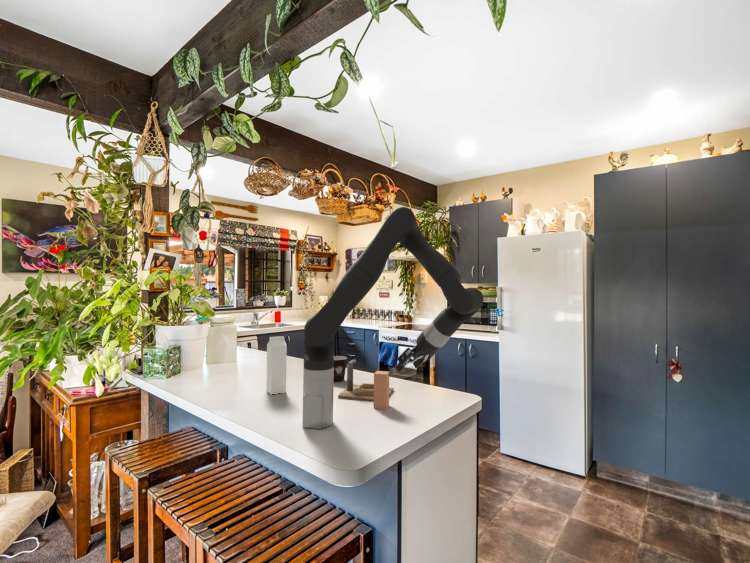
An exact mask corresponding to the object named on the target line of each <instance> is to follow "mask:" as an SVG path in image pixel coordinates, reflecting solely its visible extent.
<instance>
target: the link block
mask: <svg viewBox="0 0 750 563" xmlns="http://www.w3.org/2000/svg"><path fill="white" fill-rule="evenodd" d="M373 384H374V401H373V409H378V410H379V409H380V410H387V409H388V407H389V406H390V396H389V388H390V371H387V370H386V371H385V370H376V371H375V372H374V373H373Z"/></svg>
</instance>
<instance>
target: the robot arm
mask: <svg viewBox="0 0 750 563" xmlns="http://www.w3.org/2000/svg"><path fill="white" fill-rule="evenodd" d="M388 214H389V215H388V216H387V217H386V218H385V220H384V221H383V223H382V225H381V226H380V228H379V229H378V231H377V233H376V234H375V235H374V237H373V239H372V240H371V241H370V243H369V244H368V245H367V246H366V247H365V249H364V250H363V251H362V252H361V254H360V255H359V256H358V257H357V259H356V260H355V261H354V262H353V264H352V265H350V267H349V268H348V269H347V271H346V272H345V273H344V275H343V276H342V278H341V280H340V281H339V282H338V285H337V286H336V287H335V290H333V293H332V295H331V296H330V297H329V299H328V300H327V302H326V303H325V304H324V305H323V306H322V308H320V309H319V311H318V312H316V313H315V314H314V315H313V316H311V317H309V319H307V321H306V322H305V325H304V327H303V336H304V337H303V339H304V341H303V342H304V343H303V346H304V348H303V381H302V382H303V383H302V386H303V387H302V389H303V392H302V394H303V396H302V428H307V429H317V430H322V429H323V428H324V429H325V428H328V427H330V426H332V425H333V424H334V382H333V381H334V356H335V354H334V353H335V352H334V351H335V349H334V348H335V347H334V346H335V345H334V344H335V335H336V334H337V332H338V330H339V329H340V327H341V326H342V324H343V323H344V321H345V320H346V318H347V317H348V315H349V314H350V313H351V312H352V311H353V310H354V309H355V308H356V307H357V306H358V305H359V303H360V302H362V300H363V299H364V298H365V296H366V295H367V294H368V293H369V292H370V291H371V290H372V288H373V287H374V286H375V285H376V283H378V280H379V279H380V278H381V275H382V273H383V271H384V269H385V266H386V264H387V262H388V259H389V257H390V255H391V253H392V251H393V250H394V248H396V245H398V244H400V245H401V246H402V247H404V248H405V249H406V250H407V251H408V252H409V253H411V255H412V256H413V257H414V258H415V259H416V260H417V261H418V262H419V263H420V265H421V266H422V267H423V269H424V270H425V271H426V272H427V274H428V275H429V276H430V277H431V279H432V280H433V281H434V282H435V283H436V285H437V286H438V287H439V288H440V289H441V293H442V294H443V296H444V298H445V301H446V302H447V304H448V305H449V306H448V307H446V308H444V309H443V310H441V311H440V313H438V314H437V316H435V318H433V320H432V321H431V322H430V323H429V324H428V325H427V326H426V327H425V328H424V329H423V331H422V332H421V333H420V334H419V335H418V336H417V337H416V345H415V346H413V347H412V348H410V347H407V348H406V349H405V350H404V351H403V352H401V354H400V355H399V356H398V357H397V358H396V359H397V361H398V363H397V364H396V365H395V370H396V371H397V372H398V373H401V372H402V371H403V370H404V368H406V366H407V365H409V364H410V363H411V364H412V366H413V367H414V368H415V369H418V368H419V367H421V365H422V364H423V363H425V362H426V361H430V360H431V359H432V358H433V357H434V356H435V355H436V354H437V353H438V352H439V351H440V350H441V349H442V348H443V347H444V345H446V343H448V342H449V340H450V338H451V337H452V336H453V335H454V334H455V333H456V332H457V331H458V329H459V328H460V327H461V326H462V325H463V324H464V323H465V322H467V321H468V320H469V319H470V318H472V317H473V316H474V315H476V313H477V312H478V311H479V310H480V309H481V308H482V307H483V304H484V300H485V298H484V294H483V292H482V291H481V290H480V289H478V288H476V287H467V288H465V287H464V285H463V284H462V283H461V278H462V276H461V274H460V272H459V271H458V269H456V267H455V266H454V265H453V264H452V263H451V261H449V260H448V259H447V258H446V256H444V255H443V254H442V253H441V252H440V251H438V250H437V249H436V248H434V247H433V246H432V245H431V244H430V243H429V242H428V241H427V239H426V238H425V236H424V235H423V233H422V231H421V230H420V227H419V223H418V220H417V218H416V215H415V213H414V212H413V210H412V209H411V208H409V207H407V206H401V207H396V208H395V209H394V210H391V212H390V213H388Z"/></svg>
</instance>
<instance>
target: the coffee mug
mask: <svg viewBox="0 0 750 563" xmlns="http://www.w3.org/2000/svg"><path fill="white" fill-rule="evenodd" d="M347 359H348V357H346V356H343V355H341V356H340V355H336V356H335V355H334V381H333V383H341V382H342V383H343V382H344V381H345V376H346V370H347Z"/></svg>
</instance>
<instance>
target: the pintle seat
mask: <svg viewBox="0 0 750 563" xmlns="http://www.w3.org/2000/svg"><path fill="white" fill-rule="evenodd" d="M356 363H357V359H352V360H350V361H348V363H347V364H346V388H345V389H344V390H343V391H342V392H340V393H339V394H338V395H337V398H338V399H345V400H346V399H347V400H355V401H357V400H358V401H368V402H374V383H369V382H368V383H367V382H361V383H360V384H354V364H356ZM393 392H394V387H389V397H390V396H391V394H392V393H393Z"/></svg>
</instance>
